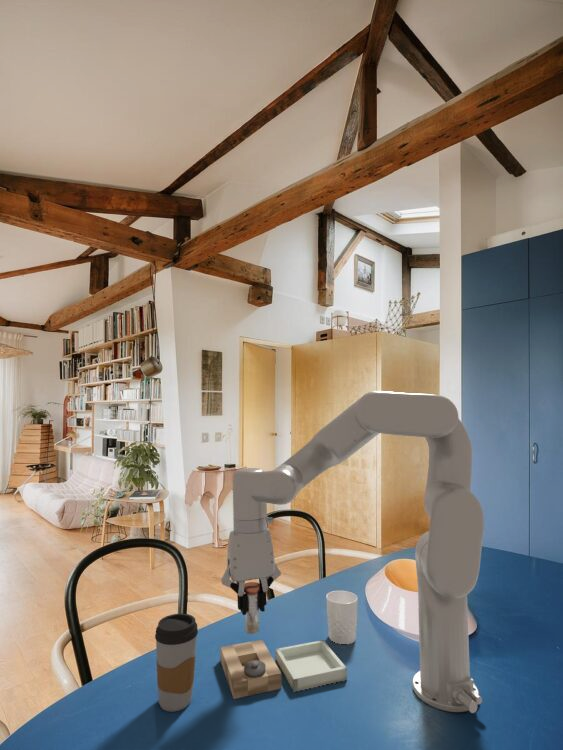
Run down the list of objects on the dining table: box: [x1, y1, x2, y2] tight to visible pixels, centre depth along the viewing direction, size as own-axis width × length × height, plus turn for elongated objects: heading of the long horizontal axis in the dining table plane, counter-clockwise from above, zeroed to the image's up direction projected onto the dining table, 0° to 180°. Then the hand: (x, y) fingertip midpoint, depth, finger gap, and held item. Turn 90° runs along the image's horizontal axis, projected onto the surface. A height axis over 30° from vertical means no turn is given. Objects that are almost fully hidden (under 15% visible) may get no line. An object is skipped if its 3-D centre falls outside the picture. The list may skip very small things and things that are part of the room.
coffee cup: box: [154, 613, 199, 712], centre depth 86 cm, size 8×8×15 cm
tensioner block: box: [219, 639, 282, 700], centre depth 95 cm, size 14×10×5 cm
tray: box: [275, 639, 348, 693], centre depth 96 cm, size 12×12×2 cm
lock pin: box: [244, 581, 260, 635], centre depth 96 cm, size 4×4×10 cm
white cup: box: [325, 590, 358, 645], centre depth 110 cm, size 8×8×10 cm
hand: (252, 609), depth 96 cm, fingers closed on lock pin, 3 cm apart
